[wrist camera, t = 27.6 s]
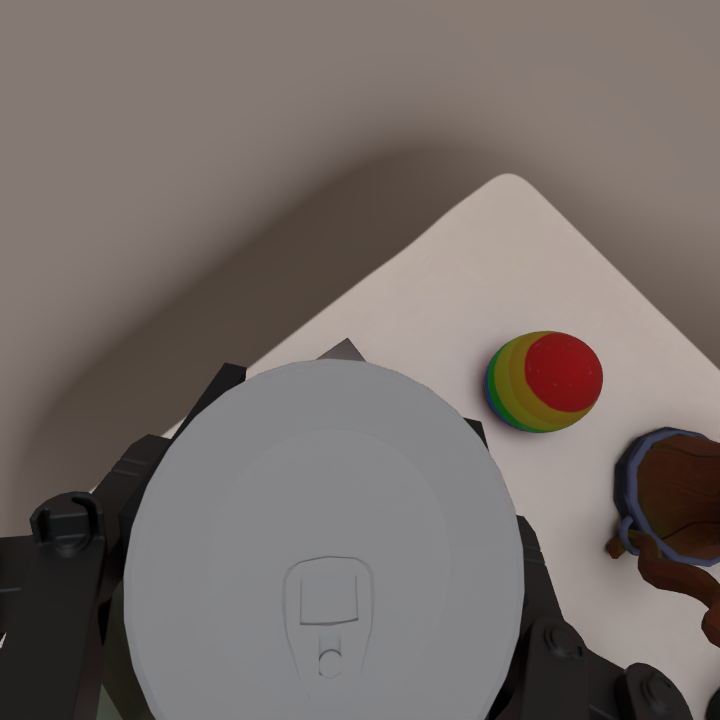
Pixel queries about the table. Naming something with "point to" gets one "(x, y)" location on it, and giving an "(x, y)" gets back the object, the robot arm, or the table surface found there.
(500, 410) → the decorative egg
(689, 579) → the mug
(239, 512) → the canned food
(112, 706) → the drawer
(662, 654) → the table surface
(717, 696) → the potion bottle
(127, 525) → the robot arm
